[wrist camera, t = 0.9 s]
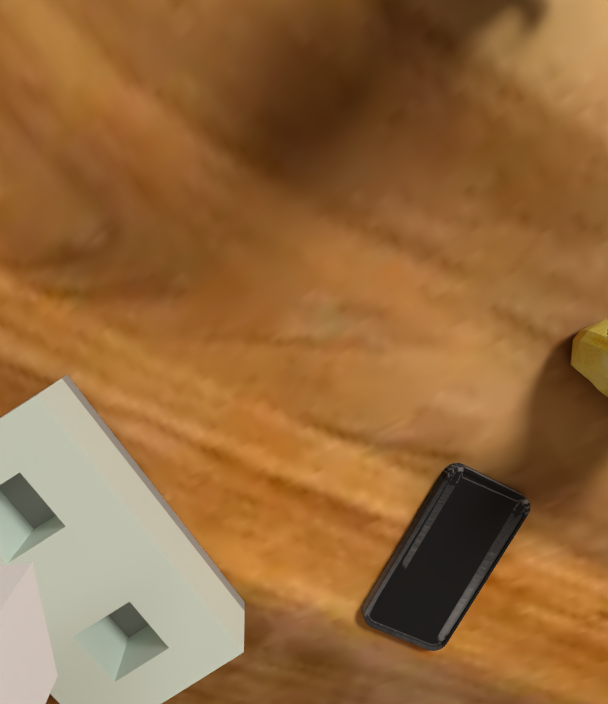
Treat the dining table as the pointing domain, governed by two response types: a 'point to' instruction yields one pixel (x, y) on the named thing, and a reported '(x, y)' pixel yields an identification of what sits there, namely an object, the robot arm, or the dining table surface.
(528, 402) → the dining table surface
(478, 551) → the phone
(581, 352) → the chocolate bunny
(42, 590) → the hole block
